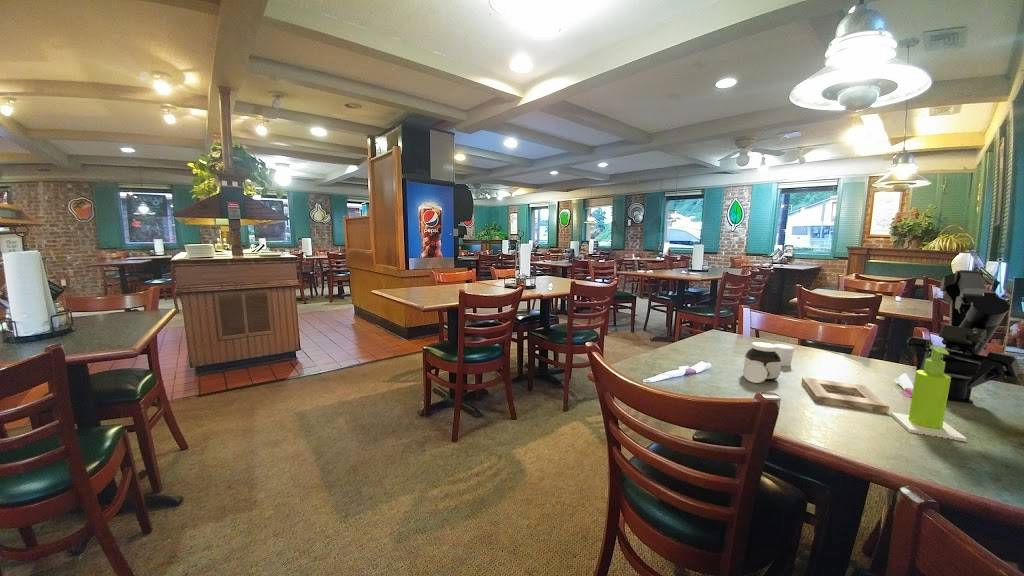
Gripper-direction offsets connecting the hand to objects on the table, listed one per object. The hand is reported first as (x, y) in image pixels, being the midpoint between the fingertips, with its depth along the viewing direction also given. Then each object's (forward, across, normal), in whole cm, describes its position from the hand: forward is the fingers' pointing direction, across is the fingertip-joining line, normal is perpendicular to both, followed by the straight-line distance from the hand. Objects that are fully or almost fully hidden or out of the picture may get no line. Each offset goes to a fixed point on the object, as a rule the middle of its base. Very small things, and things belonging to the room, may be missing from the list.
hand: (941, 380), depth 96 cm
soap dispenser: (+11, 0, +5) cm, 12 cm away
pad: (+11, 0, +5) cm, 13 cm away
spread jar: (+18, -37, -1) cm, 41 cm away
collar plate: (+11, -19, +6) cm, 23 cm away
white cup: (+2, -46, +15) cm, 48 cm away
